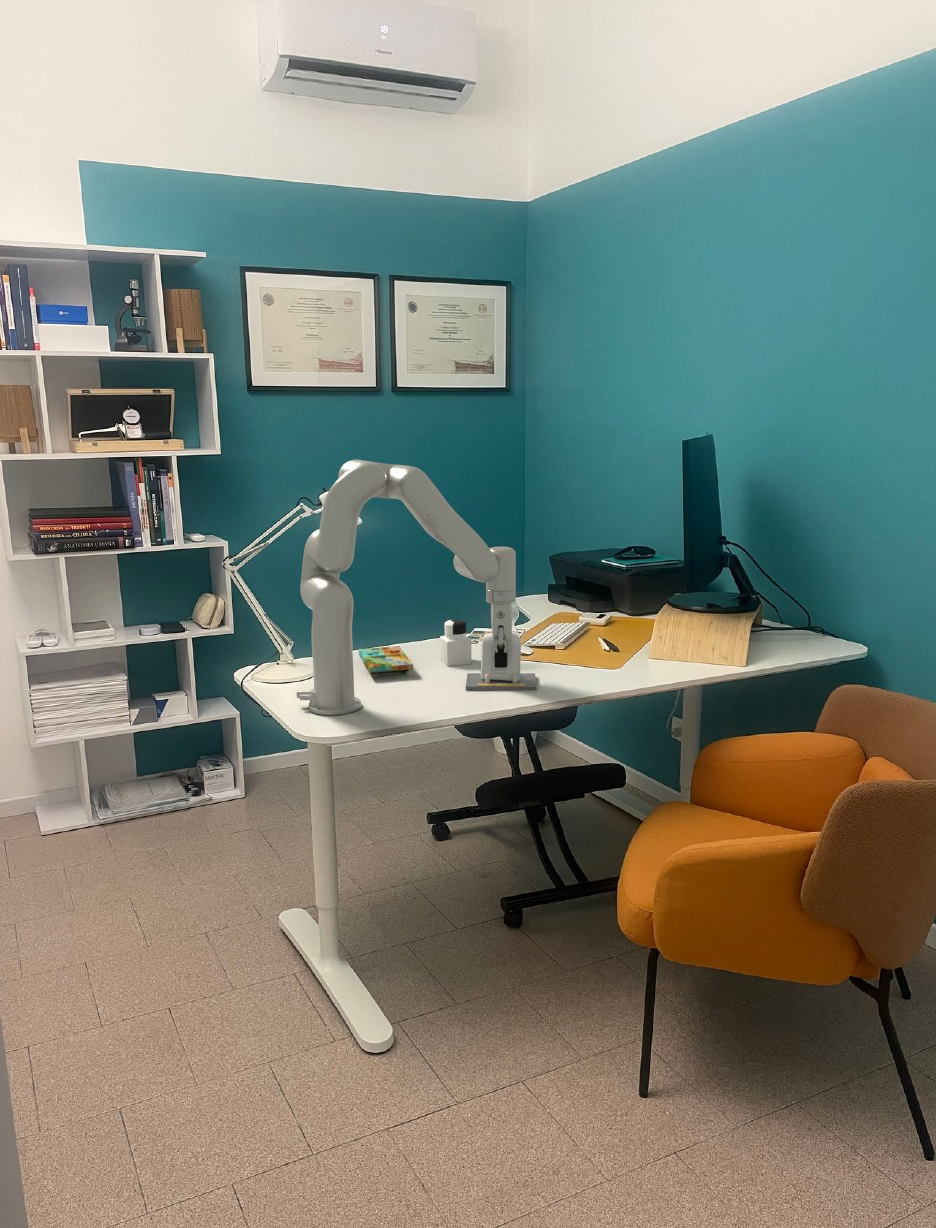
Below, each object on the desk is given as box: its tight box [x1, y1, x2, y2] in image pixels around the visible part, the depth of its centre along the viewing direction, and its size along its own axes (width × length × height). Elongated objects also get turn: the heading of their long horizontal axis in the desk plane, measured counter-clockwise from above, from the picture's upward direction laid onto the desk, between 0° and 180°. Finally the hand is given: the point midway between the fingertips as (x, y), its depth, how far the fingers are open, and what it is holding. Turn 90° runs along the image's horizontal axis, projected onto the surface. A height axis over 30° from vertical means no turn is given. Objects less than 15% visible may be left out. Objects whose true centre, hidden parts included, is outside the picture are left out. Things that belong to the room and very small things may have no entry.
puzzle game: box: [358, 645, 414, 677], centre depth 259 cm, size 12×5×20 cm
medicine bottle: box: [439, 619, 473, 667], centre depth 264 cm, size 7×7×12 cm
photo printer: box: [480, 632, 522, 681], centre depth 243 cm, size 10×4×12 cm, turn 81°
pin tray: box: [465, 672, 538, 691], centre depth 244 cm, size 18×12×4 cm, turn 88°
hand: (500, 663), depth 243 cm, fingers open, 5 cm apart
